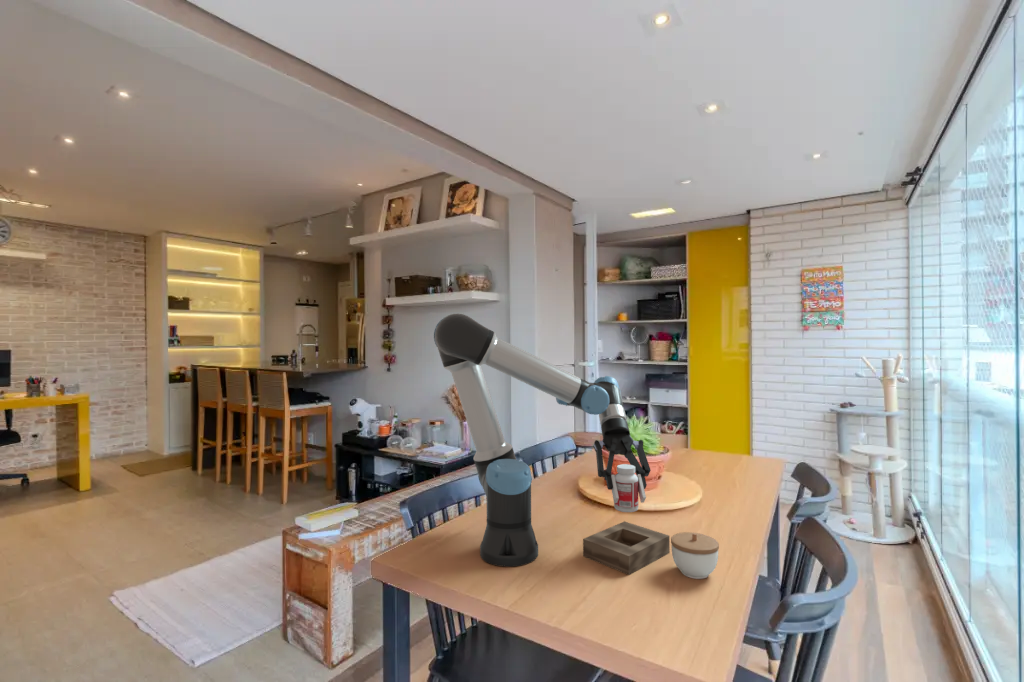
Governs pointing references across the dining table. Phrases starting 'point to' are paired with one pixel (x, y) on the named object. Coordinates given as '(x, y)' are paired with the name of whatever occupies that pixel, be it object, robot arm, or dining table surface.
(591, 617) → the dining table surface
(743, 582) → the dining table surface
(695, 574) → the lidded jar
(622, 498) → the pill bottle
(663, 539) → the socket block
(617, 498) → the robot arm
